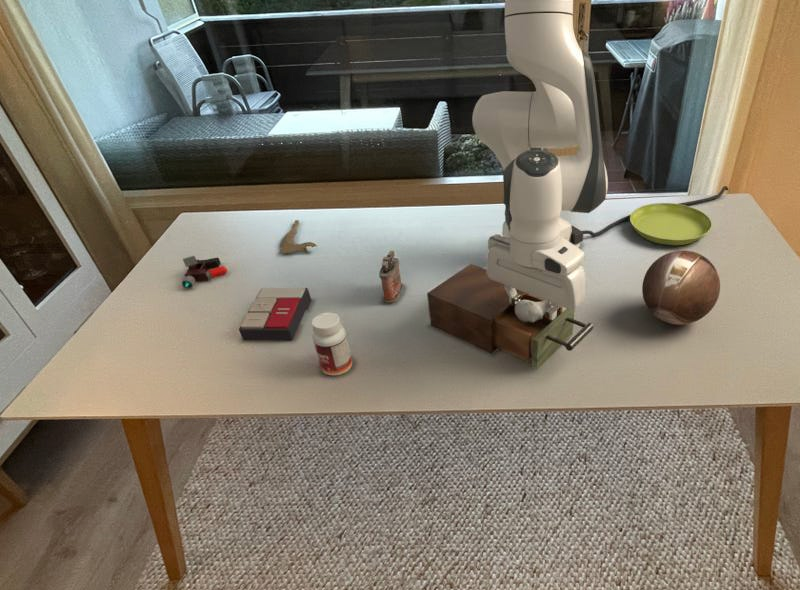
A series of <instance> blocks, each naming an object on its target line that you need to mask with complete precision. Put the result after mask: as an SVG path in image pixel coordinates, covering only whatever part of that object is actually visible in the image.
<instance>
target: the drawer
mask: <svg viewBox="0 0 800 590" xmlns="http://www.w3.org/2000/svg"><path fill="white" fill-rule="evenodd" d="M520 300H530V301H533V302H542V301H545V300H544V299H541V298H538V297H536V296H533V295H530V294H528V293H527V294H526V295H525V296H524V297H522V298H521V299H520ZM563 308H564V307H562V306H560V307H559V308H558V309H557V316H556V318H555V319H554V320H550V319H548V318H545V316H546V315H543V318H542V319H540V320H537V321H535V322H534V323H532V322H523V321H521V320H519V319H518V317H517V316H516V314H515V305H512V306H511V307H510V308H509V309H507V310H506V311H505V312H504V313H502V314H501V315H500V316H499V317H498V318H496V319H495V320H494V321H493V346H495V347H497V348H498V349H500V350H502V351H504V352H506V353H509V354H510V355H512V356H515V357H517V358H519V359H522V360H524V361H526V362H530V360H531V368H534V369H538V368H540V367H541V366H542V365H543V364H544V363H545V362H546V361H547V360H548V359H549V358H550V357H551V356H552V355H553V354H554V353H556V351H557V350H558V349H559V348H560V347H561V346H563V347H565V349H566V350H567V351H569V352H571V351H573V350H574V349H575V348H576V347H577V346H578V345H579V344H580V343H581V342H582V341H583V340H584V339H585V338H586V337H587V336H588V335H589V334H590V333H591V332H592V331H593V330H594V324H593V323H591V322H587V323H584V322H582V321H579V320H577V319H575V311H576V308H574V309H573V310H570V309H567V308H565V310H564V311H563ZM574 325H576V326H579V327H581V329H580V330H579V331H578V332H576V334H575V335H574V336H573V334H574ZM572 336H573V337H572ZM571 337H572V338H571ZM570 338H571V339H570ZM569 339H570V340H569ZM568 340H569V341H568ZM567 341H568V342H567Z"/></svg>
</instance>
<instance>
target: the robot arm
mask: <svg viewBox="0 0 800 590" xmlns="http://www.w3.org/2000/svg"><path fill="white" fill-rule="evenodd" d="M573 15H574V0H504V38H505V40H504V41H505V52H506V53H505V54H506V58H507V62H508V63H509V65H510V66H511V67H512V68H513V69H514V70H515V71H516V72H518V73H520V74H522V75H523V76H525V77H527V78H528V79H529V80H530V81H531V82H532V83H533V85H534V87H535V91H507V90H506V91H505V90H502V91H498V92H497V91H496V92H492V93H487V94H483V95H481V96H480V97H479V99H478V100H477V102H476V103H475V105H474V108H473V112H472V118H471V121H472V123H471V124H472V128H473V131H474V134H475V136H476V137H477V139H478V141H480V142H481V143H482V144H484V145H485V146H486V147H487V148H489V149H490V151H491V152H492V153H493V154H494V156H496V158H497V159H498V161H499V164H500V165H501V168H502V170H503V174H502V182H503V201H502V202H503V205H504V206H505V209H504V220H505V221H504V222H503V223H502V230H501V234H494V235H491V236H489V238H488V240H487V249H488V252H487V255H486V263H485V264H486V265H485V269H486V274H487V276H488V277H489V279H491V280H493V281H496V282H499V283H501V284H504V289H505V290H506V292H507V294H508V296H509V303H510V304H512V305H515V306H516V304H517V302H519V301H521V300H520V298H521V295H519V294H517V292H516V289H517V290H520V291H522V292H525V293H528V294H530V295H533V296H536V297H538V298H541V299H544V300H546V301H549V302H551V306H552V307H550V308H549V309H547V310H546V312H545V314H546V316H545V318H548V319H550V320H554V319H555V318H556V316H557V309H558V308H559V307H560V306H562V307H563V308H565V309H570V310H573V309H574V308H575V309H576V308H578V307H579V306H580V305H581V304H582V303H583V302H584V300H585V296H586V290H587V289H586V288H587V287H586V285H587V281H586V271H585V268H584V267H583V265H582V263H583V262H584V260H585V257H586V256H585V252H584V251H583V250H582V249H581V248H580V247H581V242H583V241H584V235H590V236H591V237H598V236H601V235H603V234H605V233H606V232H607V231H608V230H610V229H612V228H613V227H616V226H618V225H619V224H621V223H623V222H626V221H627V220H630V215H631V214H628V215H626V216H624V217H621V218H620V219H618V220H616V221H615V222H612V223H610V224H608V225H607V226H605V227H604V228H603V229H601V230H599V231H596V232H594V231H592V230H589V229H588V230H581V229H579V228H577V227H576V226H575V225H571V224H570V222H569V221H568V220H566V219H564V218H562V217H561V216H560V215H561V213H562V212H570V213H581V214H590V213H592V212H593V211H594V210H596V209H597V208H598V207H600V206H601V205H602V204H603V203H604V202H605V201H606V197H607V194H608V187H609V178H608V171H607V168H606V164H605V159H604V153H603V152H604V151H603V144H602V143H603V142H602V135H601V125H600V124H601V123H600V113H599V105H598V104H599V103H598V95H597V86H596V80H595V79H596V78H595V73H594V67H593V63H592V58H591V56H590V54H589V53H588V52H587V51H585V50H583V49H581V47H580V45H579V43H578V41H577V39H576V38H577V37H576V35H575V31H574V20H573V19H574V16H573ZM575 147H577V148H578V150H577V151H576V153H575V154H571V155H570V154H569V155H565V154H563V155H556V154H554V153H553V152H551V151H549V149H551V150H552V149H553V150H563V149H571V148H575ZM545 149H547V150H545ZM725 191H729V187H728V186H727V185H724V186H722V188H721V189H720V191H719V192H718V193H717V194H716V195H713V196H709V197H706V198H701V199H697V200H691V201H685V202H679V203H678V204H681V205H686V206H691V205H697V204H701V203H706V202H710V201H714V200H716V199H719V198H720V197H721V196H723V194H724V192H725Z"/></svg>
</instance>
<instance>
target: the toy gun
mask: <svg viewBox="0 0 800 590" xmlns="http://www.w3.org/2000/svg"><path fill="white" fill-rule="evenodd" d="M182 261H183V263H184V266H185V267H186V268H187V267H188V268H187V270H186V271H185V273H184V278H183V280H182V281H181V286H182V287H183V288H184V289H186V290H191V289H192V288H193V287H194V285H195V284H196V282H197V283H198V282H209V278H212V279H213V278H217V277H221V276H223V275H226V274H227V273H228V268H227V267H226V266H224V265H221V263H222V262H221V260H220V258H219V257H212V258H207V259H197V258H196V255H190V256H187V257H184V258H182Z"/></svg>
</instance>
